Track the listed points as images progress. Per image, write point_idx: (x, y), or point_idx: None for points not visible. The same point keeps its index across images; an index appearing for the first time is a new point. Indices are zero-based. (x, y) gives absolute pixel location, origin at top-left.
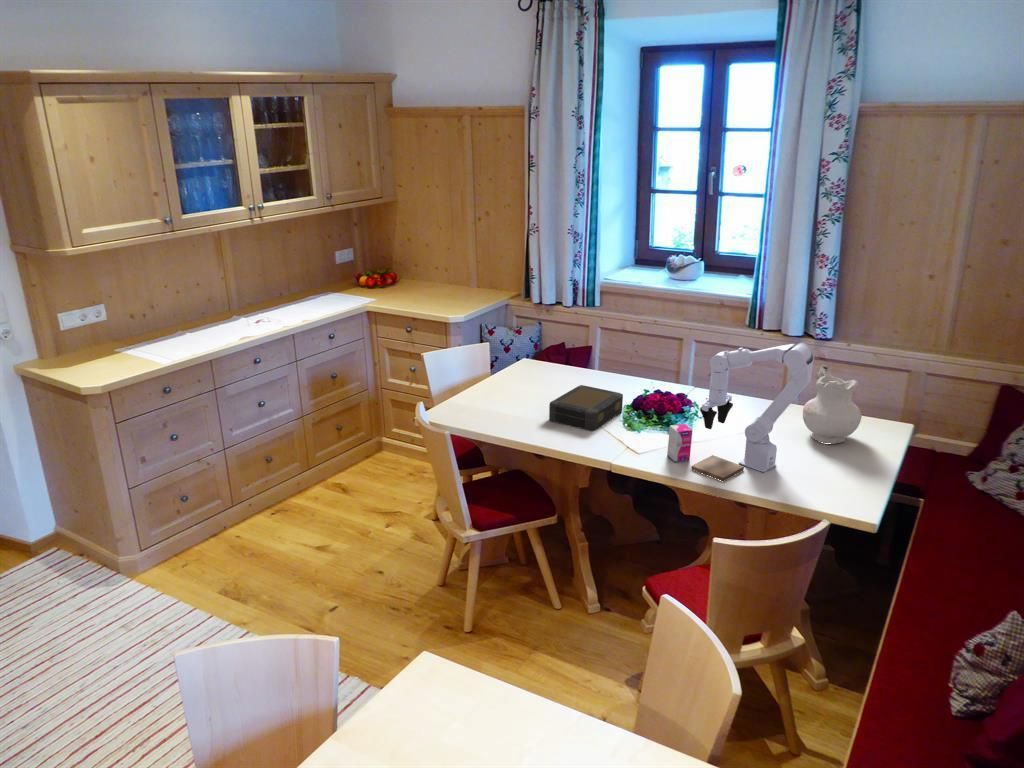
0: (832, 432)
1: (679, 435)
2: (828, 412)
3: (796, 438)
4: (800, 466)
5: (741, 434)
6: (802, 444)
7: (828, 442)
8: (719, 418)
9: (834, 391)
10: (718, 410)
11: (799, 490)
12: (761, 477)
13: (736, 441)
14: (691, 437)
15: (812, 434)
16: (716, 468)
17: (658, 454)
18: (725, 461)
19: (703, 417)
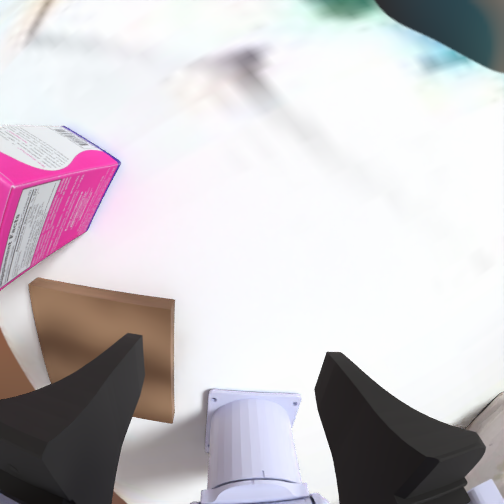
0: None
1: None
2: None
3: (482, 388)
4: (314, 474)
5: (477, 269)
6: (452, 416)
7: None
8: (334, 380)
9: None
10: (369, 417)
11: (182, 498)
12: (174, 450)
13: (417, 288)
14: (14, 277)
15: (496, 404)
16: (82, 364)
17: (60, 88)
18: (156, 371)
19: (63, 382)
